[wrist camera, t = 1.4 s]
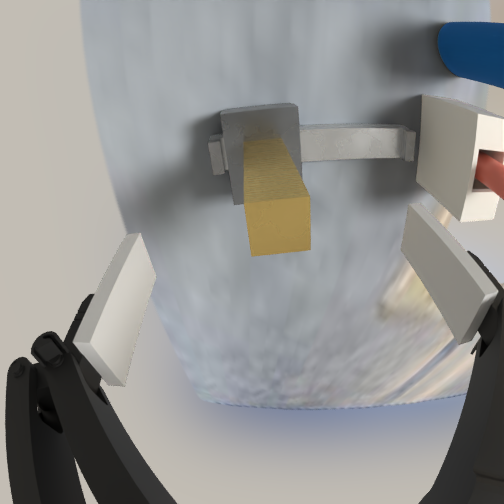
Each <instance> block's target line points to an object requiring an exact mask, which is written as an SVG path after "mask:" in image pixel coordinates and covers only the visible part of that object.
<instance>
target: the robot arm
mask: <svg viewBox="0 0 504 504" xmlns="http://www.w3.org/2000/svg"><path fill="white" fill-rule="evenodd" d="M401 251H402V252H403V254H404V255H405V257H406V258H407V260H408V261H409V263H410V264H411V266H412V267H413V269H414V270H415V272H416V273H417V275H418V276H419V278H420V279H421V281H422V283H423V284H424V286H425V287H426V289H427V291H428V292H429V294H430V295H431V297H432V299H433V300H434V302H435V304H436V305H437V307H438V309H439V310H440V312H441V314H442V316H443V317H444V319H445V321H446V323H447V324H448V326H449V328H450V330H451V332H452V333H453V335H454V337H455V339H456V341H457V343H458V345H460V344H463V343H466V342H469V341H472V339H473V338H474V336H475V334H476V333H477V331H478V332H479V334H480V335H481V337H480V339H479V340H478V342H477V343H476V345H475V346H474V348H473V350H472V352H471V354H472V355H473V353H474V352H475V350H476V356H475V361H474V366H473V370H472V375H471V379H470V384H469V388H468V392H467V395H466V399H465V403H464V406H463V409H462V413H461V416H460V419H459V422H458V425H457V428H456V431H455V434H454V437H453V440H452V442H451V445H450V448H449V450H448V453H447V455H446V458H445V460H444V463H443V465H442V467H441V470H440V472H439V474H438V476H437V478H436V480H435V483H434V485H433V487H432V488H431V490H430V491H429V492H428V493H427V494H426V495H425V496H424V497H423V499H422V500H421V501H420V502H419V504H504V289H503V288H502V286H501V285H500V284H499V283H498V281H497V280H496V279H495V277H494V276H493V275H492V274H491V273H490V272H489V270H488V269H487V268H486V267H485V266H484V264H483V263H482V262H481V260H480V259H479V258H478V257H477V256H475V255H474V254H473V253H471V252H470V251H466V250H465V249H464V248H463V247H462V245H461V244H460V243H459V242H458V241H457V240H456V239H455V238H454V237H453V236H452V235H451V233H450V232H449V231H448V230H447V229H446V228H445V227H444V226H443V225H442V224H441V223H440V222H439V221H438V220H437V219H436V218H435V217H434V216H433V215H432V214H431V213H430V212H429V211H428V210H427V209H426V208H425V207H424V206H423V205H422V204H421V203H414V204H408V211H407V217H406V223H405V229H404V234H403V240H402V245H401ZM156 277H157V276H156V274H155V271H154V269H153V266H152V263H151V261H150V258H149V255H148V253H147V250H146V247H145V244H144V242H143V239H142V236H141V233H133V234H127V235H126V236H125V238H124V240H123V242H122V243H121V245H120V247H119V249H118V250H117V252H116V254H115V256H114V258H113V260H112V262H111V263H110V265H109V267H108V269H107V271H106V273H105V275H104V277H103V278H102V280H101V282H100V284H99V286H98V288H97V291H96V292H95V294H90V295H89V296H88V297H87V298H86V299H85V300H84V301H83V302H82V304H81V306H80V308H79V310H78V314H76V316H75V318H74V321H73V322H72V324H71V326H70V329H69V331H68V333H67V335H66V338H65V340H64V342H62V340H61V339H60V338H59V336H58V335H57V334H56V333H55V332H52V331H50V332H46V333H43V334H42V335H40V336H39V337H38V338H37V339H36V340H35V342H34V343H33V345H32V348H31V354H32V355H33V356H34V358H35V359H36V360H37V361H38V362H39V363H36V364H32V363H31V362H30V361H29V360H28V359H27V358H25V357H20V358H18V359H16V360H15V361H14V362H13V363H12V364H11V365H10V367H9V370H8V374H7V386H6V410H5V413H6V414H5V419H6V420H5V428H6V450H7V463H8V472H9V481H10V487H11V494H12V499H13V504H86V502H85V499H84V495H83V491H82V488H81V485H80V481H79V476H78V472H77V468H76V464H75V459H76V461H77V464H78V466H79V468H80V470H81V472H82V474H83V476H84V478H85V480H86V482H87V484H88V486H89V488H90V490H91V491H92V493H93V495H94V497H95V499H96V500H97V502H98V504H177V503H176V502H175V500H174V499H173V498H172V497H171V495H170V494H169V493H168V492H167V490H166V489H165V488H164V487H163V485H162V484H161V482H160V481H159V480H158V478H157V477H156V476H155V474H154V473H153V471H152V470H151V469H150V467H149V466H148V464H147V463H146V462H145V460H144V459H143V457H142V456H141V454H140V453H139V451H138V449H137V448H136V447H135V445H134V443H133V442H132V440H131V439H130V437H129V435H128V434H127V432H126V430H125V429H124V427H123V425H122V423H121V422H120V420H119V418H118V416H117V415H116V413H115V411H114V409H113V408H112V406H111V404H110V402H109V400H108V398H107V396H106V394H105V392H104V390H103V389H102V387H101V386H100V381H101V378H102V379H103V380H104V381H105V382H106V383H107V384H108V385H111V386H112V385H113V386H125V383H126V380H127V375H128V371H129V368H130V364H131V360H132V356H133V353H134V349H135V345H136V341H137V338H138V335H139V331H140V328H141V324H142V321H143V318H144V314H145V311H146V308H147V304H148V301H149V298H150V295H151V292H152V289H153V286H154V283H155V280H156ZM37 407H38V410H37ZM74 457H75V459H74Z"/></svg>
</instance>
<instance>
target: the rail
mask: <svg viewBox="0 0 504 504" xmlns="http://www.w3.org/2000/svg"><path fill="white" fill-rule="evenodd" d="M299 128H300V144H301V162H307V161H321V160H339V159H364V158H401V159H403V160H404V161H414V151H415V138H416V132H415V131H413V130H411V129H409V128H407V127H405V126H403V125H399V124H318V125H300V126H299ZM208 148H209V153H210V159H211V164H212V170H213V175H220V174H225V170H228V163H227V157H226V151H225V144H224V138H223V133H222V134H215V135H211V137H210V139H209V141H208Z"/></svg>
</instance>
